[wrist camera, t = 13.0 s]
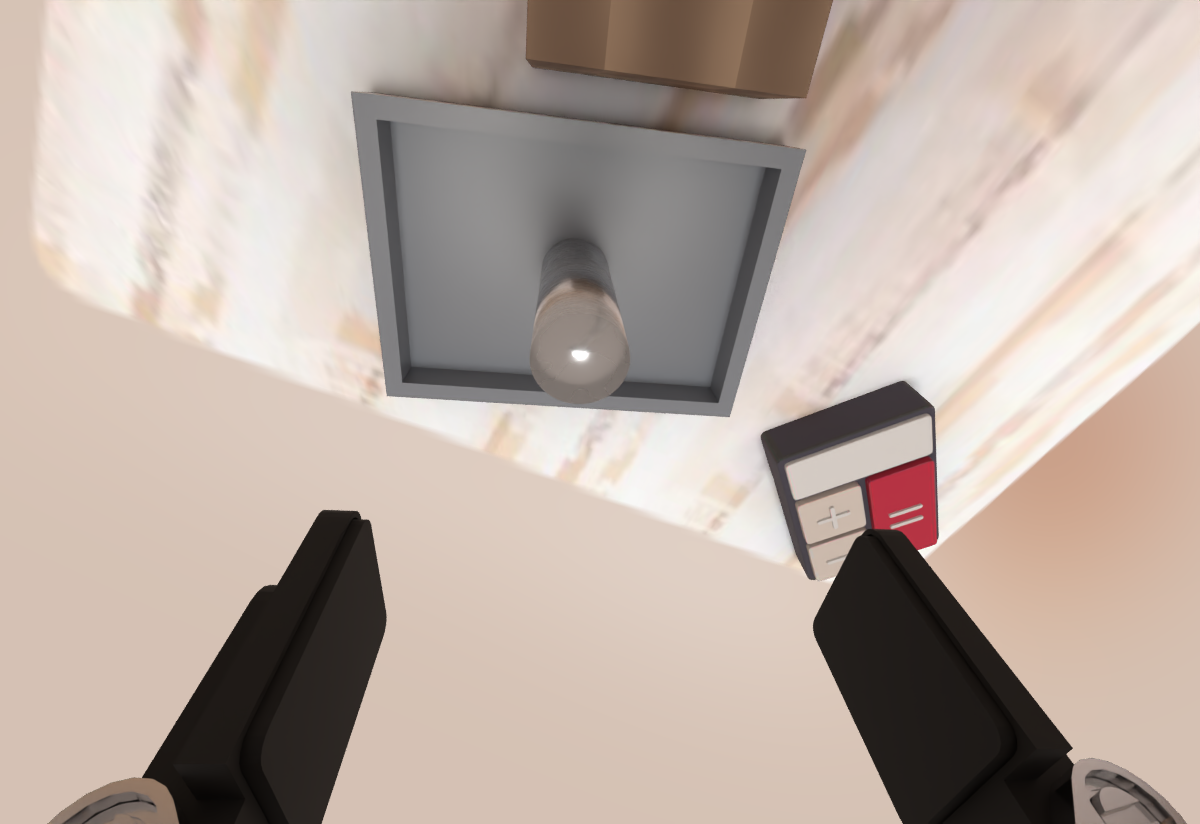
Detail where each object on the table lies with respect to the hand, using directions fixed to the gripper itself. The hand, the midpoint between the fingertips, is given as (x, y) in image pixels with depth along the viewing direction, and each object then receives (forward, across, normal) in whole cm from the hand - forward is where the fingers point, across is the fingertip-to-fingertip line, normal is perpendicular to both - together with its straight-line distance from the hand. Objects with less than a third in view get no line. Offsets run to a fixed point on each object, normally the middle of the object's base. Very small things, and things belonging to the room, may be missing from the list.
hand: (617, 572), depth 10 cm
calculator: (+25, -23, +16) cm, 38 cm away
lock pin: (+24, 0, +1) cm, 24 cm away
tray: (+24, 0, +1) cm, 24 cm away
